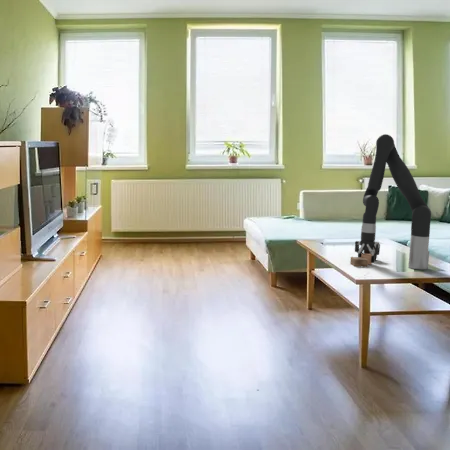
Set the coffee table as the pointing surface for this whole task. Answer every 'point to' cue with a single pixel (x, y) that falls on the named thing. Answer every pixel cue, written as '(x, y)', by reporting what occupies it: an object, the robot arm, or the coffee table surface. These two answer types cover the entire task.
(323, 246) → the coffee table surface
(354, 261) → the walnut box
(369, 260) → the terracotta cube
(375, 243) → the coffee mug
